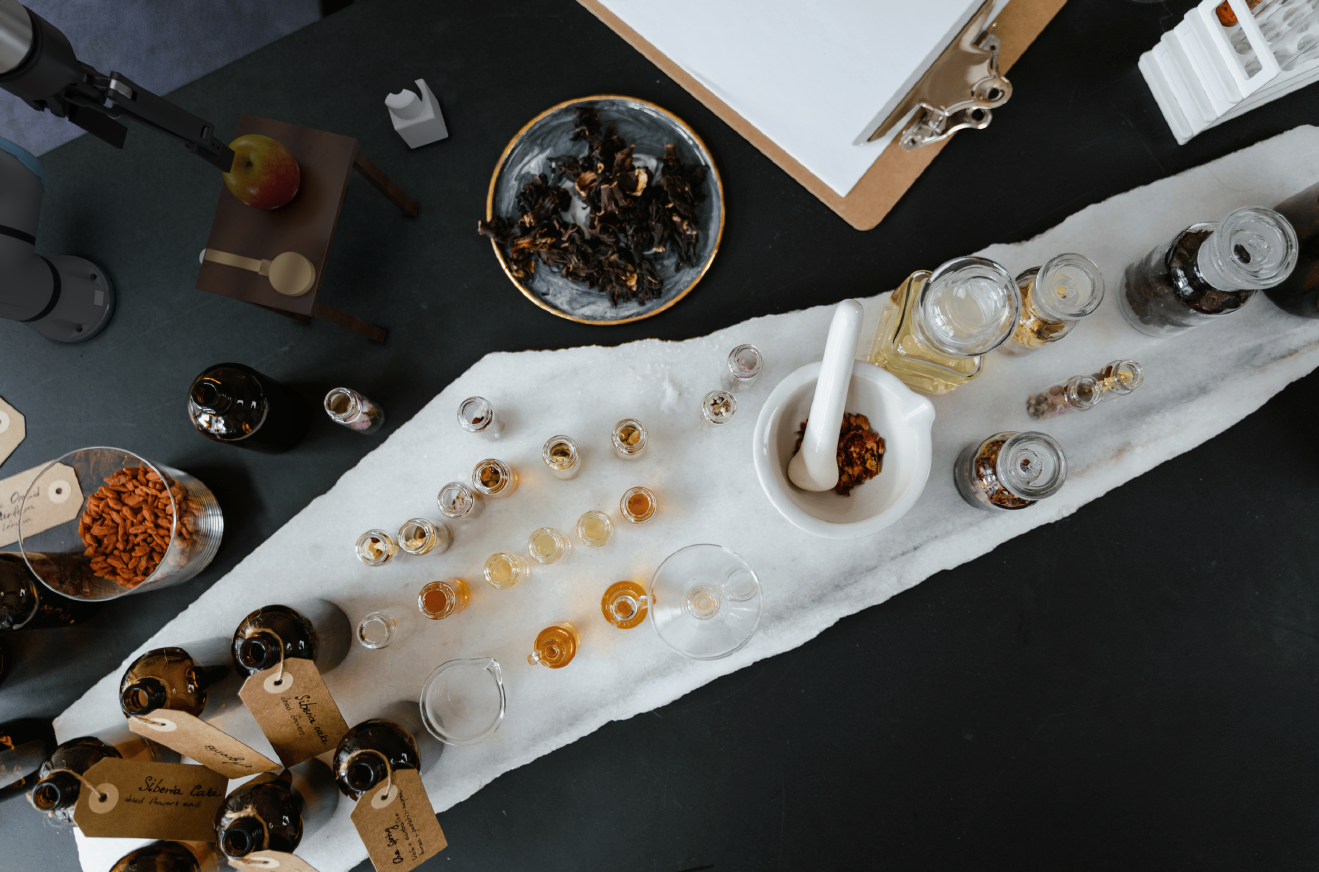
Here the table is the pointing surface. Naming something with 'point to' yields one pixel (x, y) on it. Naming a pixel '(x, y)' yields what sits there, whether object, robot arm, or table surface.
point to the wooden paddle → (273, 269)
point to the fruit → (262, 172)
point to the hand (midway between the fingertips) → (176, 150)
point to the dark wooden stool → (293, 223)
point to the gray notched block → (413, 109)
